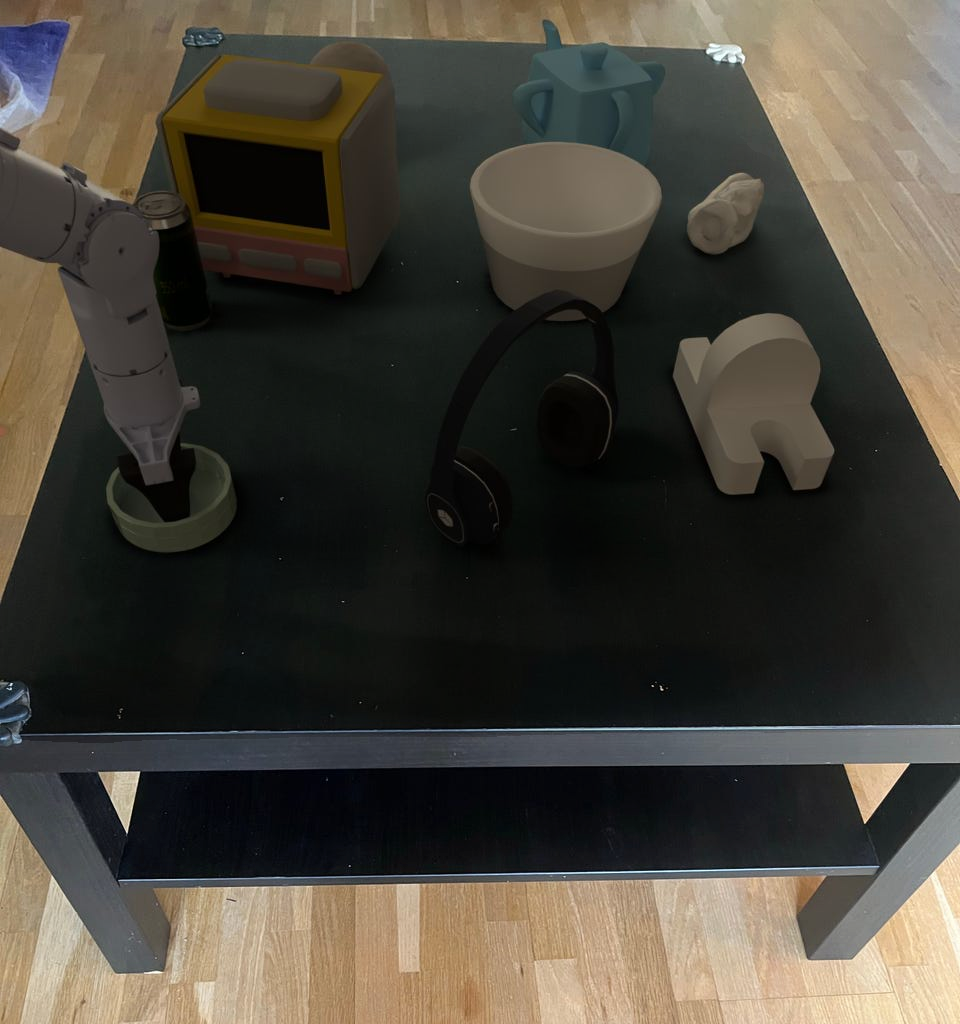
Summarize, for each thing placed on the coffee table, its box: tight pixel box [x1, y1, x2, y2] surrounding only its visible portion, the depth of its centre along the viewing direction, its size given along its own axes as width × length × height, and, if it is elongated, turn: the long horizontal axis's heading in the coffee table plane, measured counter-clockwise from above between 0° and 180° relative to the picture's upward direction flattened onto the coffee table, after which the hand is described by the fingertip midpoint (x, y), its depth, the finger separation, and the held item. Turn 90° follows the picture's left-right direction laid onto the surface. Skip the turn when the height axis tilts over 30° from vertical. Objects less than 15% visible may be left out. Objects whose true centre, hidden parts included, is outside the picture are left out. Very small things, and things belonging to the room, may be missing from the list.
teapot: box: [512, 18, 666, 168], centre depth 115 cm, size 18×16×14 cm
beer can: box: [131, 190, 213, 332], centre depth 94 cm, size 5×5×12 cm
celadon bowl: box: [105, 442, 238, 553], centre depth 80 cm, size 10×10×3 cm
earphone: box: [424, 290, 620, 547], centre depth 76 cm, size 20×7×18 cm, turn 137°
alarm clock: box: [154, 53, 401, 295], centre depth 98 cm, size 20×16×18 cm
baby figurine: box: [686, 172, 765, 255], centre depth 109 cm, size 9×12×8 cm
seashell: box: [308, 40, 393, 83], centre depth 120 cm, size 15×14×15 cm
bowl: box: [469, 142, 663, 322], centre depth 100 cm, size 19×19×11 cm
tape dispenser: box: [672, 312, 835, 495], centre depth 86 cm, size 10×18×11 cm, turn 7°
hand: (172, 491), depth 80 cm, fingers closed on eraser, 6 cm apart
